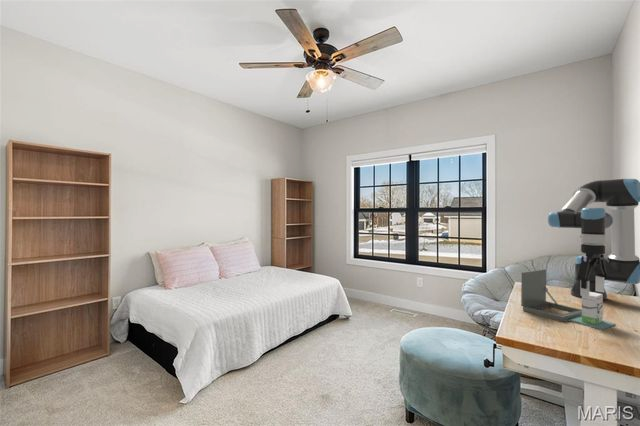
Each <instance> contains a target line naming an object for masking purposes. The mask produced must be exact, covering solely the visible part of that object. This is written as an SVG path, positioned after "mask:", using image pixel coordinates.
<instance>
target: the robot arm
mask: <svg viewBox="0 0 640 426" xmlns="http://www.w3.org/2000/svg"><path fill="white" fill-rule="evenodd" d="M594 203H606V204H605V206H606V207H607V208H608V209H610V210H609V211H610V213H608V212H606V209H605V208H604V207H588V206H589V205H591V204H594ZM639 204H640V181H639V179H636V178H620V179H618V178H617V179H606V180H605V179H604V180H600V179H599V180H594V181H590V182H588V183H585V184H583V185H581V186H580V187H578V188H576V189H575V190H574V191H573V193H572V195H571V198H570V199H569V200H568V202H567V203H565V205H564V206H563V207H561V209H560V210H559V211H551V212H550V213H549V214H548V217H547V222H548V225H549V226H550V227H552V228H559V229H560V228H561V229H562V228H564V229H565V228H566V229H567V228H568V229H580V233H581V234H580V235H579V238H581V239H580V240H581V241H580V242H581V244H580V252H581V253H583V254H584V255H583V254H582V255H578V256H576V257H575V263H574V265H575V266H574V282H573V285H572V287H571V290H570V294H571V296H574V297H577V298H580V299H582V296H586V297H589V292H595V293H599V294H603V301H607V300H608V294H607V291H606V289H605V281H609V282H614V283H623V284H631V285H639V284H640V257H639V256H638V255H636V235H635V233H636V230H635V229H636V227H635V209H636V208H637V207H638V206H639ZM608 228H610V240H611V241H610V242H611V246H610V247H611V253H609V254H608V255H607V258H605V257H604V256H605V255H604V254H606V246H605V244H606V229H608Z"/></svg>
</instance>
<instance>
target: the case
mask: <svg viewBox="0 0 640 426" xmlns="http://www.w3.org/2000/svg"><path fill="white" fill-rule="evenodd" d="M520 285H521V287H520V289H521V290H520V291H521V295H520V296H521V297H520V299H521V300H520V302H521V304H520V305H521V307H522V311H523V312H525V313H526V312H527V313H530V314H533V315H537V316H541V317H544V318H548V319H551V320H555V321H558V322H562V323H563V322H566V321H569V319H572V318H575V317H579V316H582V308H581V309H580V308H577V307H572V306H568V305H565V304H559V303H558V302H557V301H556V299H555V298H554V297H553V296H552V294H551V293H550V292H549V288H548V287H547V269H545V268H543V269H537V270H530V271H529V270H528V271H522V272H521V284H520ZM547 295H548V296H549V297H550V299H551V300H552V302H551V301H548V300H547ZM547 308H554V309H558V310H561V311H565V312H567V313H563V314H560V315H558V314H554V313H552V312H547V311H543V310H542V309H547Z"/></svg>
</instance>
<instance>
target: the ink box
mask: <svg viewBox="0 0 640 426" xmlns="http://www.w3.org/2000/svg"><path fill="white" fill-rule="evenodd" d="M603 307H604V300H603V294H599V293H595V292H589V297H586V296H582V298H581V310H582V322H587V323H591V324H595V325H597V324H598V323H600V322H601V321H602V320H603V317H604V316H603V314H604V313H603V309H604V308H603Z"/></svg>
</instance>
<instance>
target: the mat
mask: <svg viewBox="0 0 640 426" xmlns="http://www.w3.org/2000/svg"><path fill="white" fill-rule="evenodd" d="M568 321H569V322H572V323H576V324H579V325H584V326H586V327H590V328H594V329H596V330H597V329H598V330H601V331H603V330H606V329H608V328H611V327H613V326H616V323H614V322H610V321H606V320H603V319H602V321H601V322H600V323H598V324H597V325H595V324H591V323H587V322H582V316H579V317H575V318H572V319H569V320H568Z"/></svg>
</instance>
